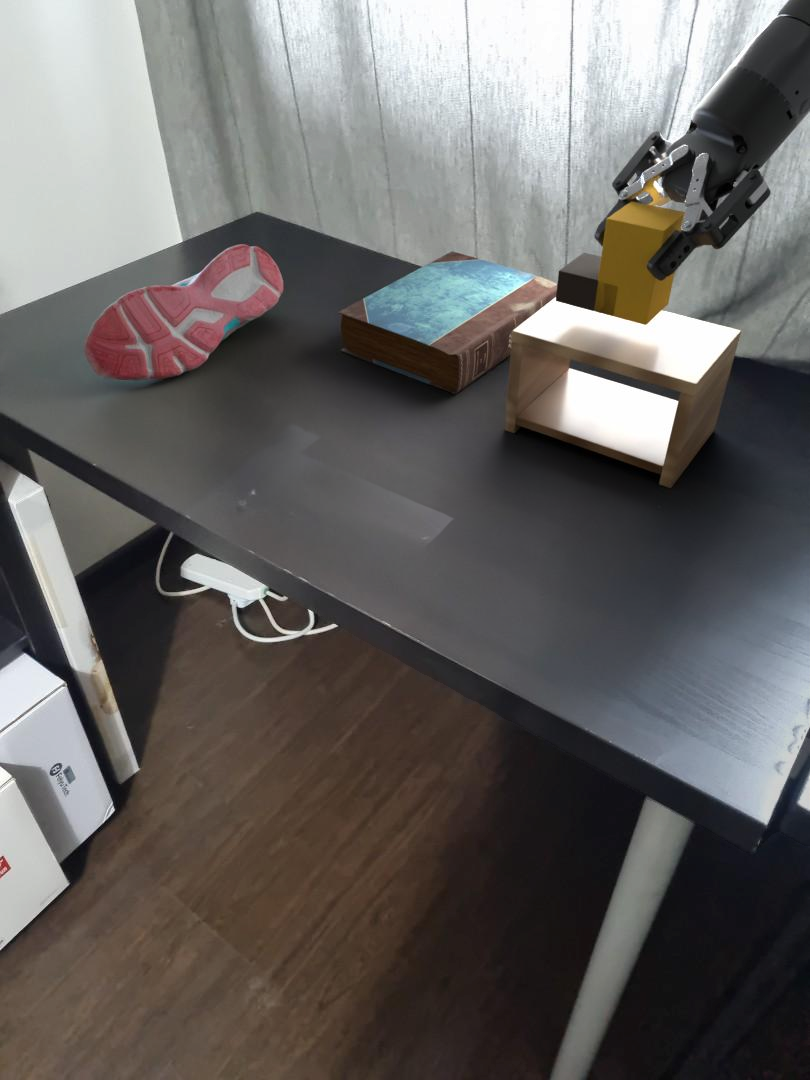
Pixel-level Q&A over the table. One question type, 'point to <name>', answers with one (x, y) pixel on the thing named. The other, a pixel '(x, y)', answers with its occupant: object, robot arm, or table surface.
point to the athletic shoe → (182, 317)
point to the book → (445, 320)
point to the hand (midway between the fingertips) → (626, 258)
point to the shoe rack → (612, 408)
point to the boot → (623, 266)
